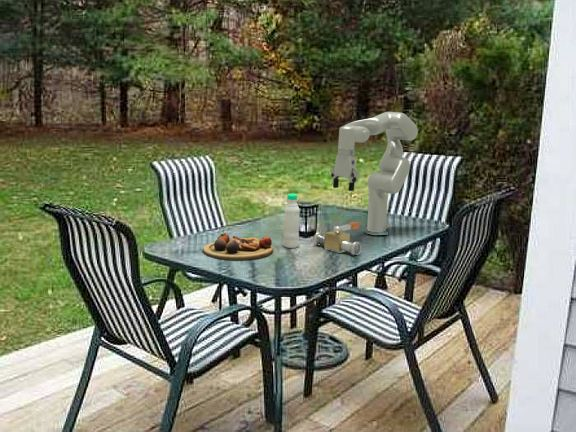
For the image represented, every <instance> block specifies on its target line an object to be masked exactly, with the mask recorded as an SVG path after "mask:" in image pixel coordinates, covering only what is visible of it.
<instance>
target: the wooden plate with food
mask: <svg viewBox="0 0 576 432" xmlns="http://www.w3.org/2000/svg"><path fill="white" fill-rule="evenodd" d="M272 244H273V242H272V238H271V237H270V236H264V237H262V238H260V239H259V238H257V237H254V236H253V237H248V238H247V237H244V238H243V237H238V236H236V235H233V236H232V237H231V238H230V235H229V234H228V233H227V232H224V233H220V235H219V236H218V237H217V239H216V240H215V241H212V242H209V243H207V244H206V245H204V246H203V248H202V252H203V254H204V255H205V254H206V255H205V256H208V257H209V256H210V258H212V257H213V259H216V258H217V259H218V260H225V261H245V260H246V261H249V260H255V259H256V260H257V259H261V258H264V257H267V256H269V255H271V254H272V253H273V252H274V247H273V245H272ZM217 259H216V260H217Z"/></svg>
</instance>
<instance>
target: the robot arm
mask: <svg viewBox="0 0 576 432" xmlns="http://www.w3.org/2000/svg"><path fill="white" fill-rule="evenodd" d="M383 132H385V135H386V141H387V146H386V150H385V151H384V154H383V155H382V157H381V159H380V161H379V164H378V169H379V172H373V173H371V174H370V175H369V176H368V179H367V187H368V206H367V207H368V209H367V211H368V212H367V225H366V229H367V230H368V231H371V232H383V231H386V229H387V230H388V229H390V228H392V227H391V224H387V218H388V216H387V215H388V201H389V200H388V197H387V194H389V195H390V194H391V195H397V194H398V193H399V192H400V191H401V189H402V188H403V185H404V183H405V181H406V179H407V177H408V175H409V173H410V169H411V168H410V167H411V163H410V160H409V159H408V158H407V157H404V156H402V155H403V153H404V148H403V145H402V142H401V140H402V141H414V140H415V139H416V138H417V136H418V135H419V134H418V133H419V130H418V127H417V125H416V123H414V121H413V120H412V119H411V118H410V117H409V116H408V115H406V114H405V113H403V112H399V111H398V112H397V111H385V112H382V113H380V114H378V115H375V116H373V117H371V118H369V117H368V118H365V119H359V120H354V121H352V122H348V123H346V124H344V125H342V126H340V127H339V131H338V147H337V154H336V156H335V157H336V158H335V162H334V167H333V168H330V170H329V172H330V176H331V177H332V180H333V183H332V184H333V185H332V187H333V189H337V188H339V184H340V183H339V182H340V181H339V180H340V179H339V178H346V179H348V180H349V183H348V192H353V191H354V190H355V184H356V182H357V181H358V179H359V178H360V173H359V172H358V171H357V161H356V157H355V156H354V155H356V151H355V143H365V142H367V141H368V140H369V138H370V136H376V135H379V134H381V133H383Z"/></svg>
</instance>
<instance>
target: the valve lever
mask: <svg viewBox="0 0 576 432" xmlns="http://www.w3.org/2000/svg"><path fill="white" fill-rule="evenodd" d="M357 229H360V221H350V222H347V224H346V223H345V224H343V225H333V231H334V232H335V233H341V232H344V231H348V230H350V231H351V230H352V231H353V230H357Z"/></svg>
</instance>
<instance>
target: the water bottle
mask: <svg viewBox="0 0 576 432" xmlns="http://www.w3.org/2000/svg"><path fill="white" fill-rule="evenodd" d="M286 199H287V202H286V204H285V207H284V210H283V211H284V216H283V217H284V218H283V229H284V231H283V247H284V248H288V249H295V248H298V247H299V246H300V245H299V237H300V232H299V229H300V211H301V210H300V207H299V205H298V202H297V201H298V194H296V193H288V194H287V196H286Z"/></svg>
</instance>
